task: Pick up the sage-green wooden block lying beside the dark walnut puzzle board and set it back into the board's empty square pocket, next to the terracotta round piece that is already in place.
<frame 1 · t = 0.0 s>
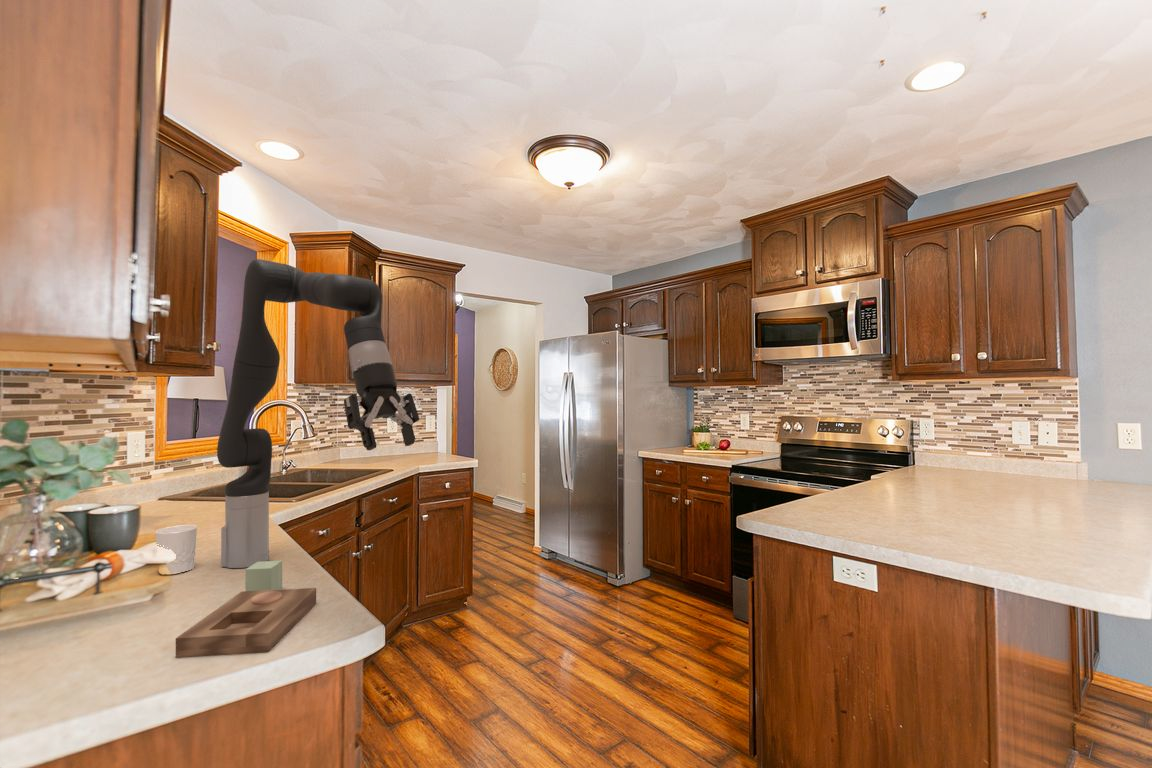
hand: (391, 446, 100), 31 cm above the countertop, tool tilted 20°, fingers open, 8 cm apart
green block: (264, 593, 111), on the countertop
puzzle board: (253, 627, 94), on the countertop
white cup: (176, 571, 125), on the countertop
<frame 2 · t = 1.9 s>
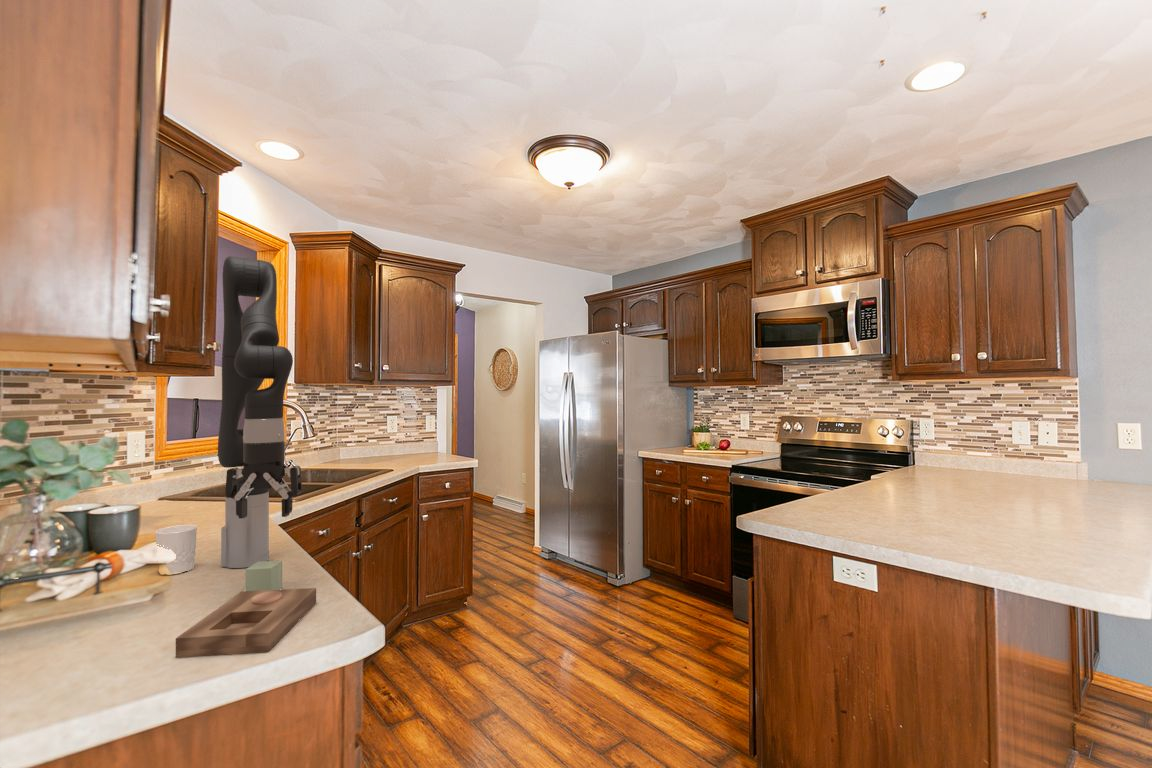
hand: (264, 516, 111), 16 cm above the countertop, tool pointing down, fingers open, 8 cm apart
nothing on the countertop moved.
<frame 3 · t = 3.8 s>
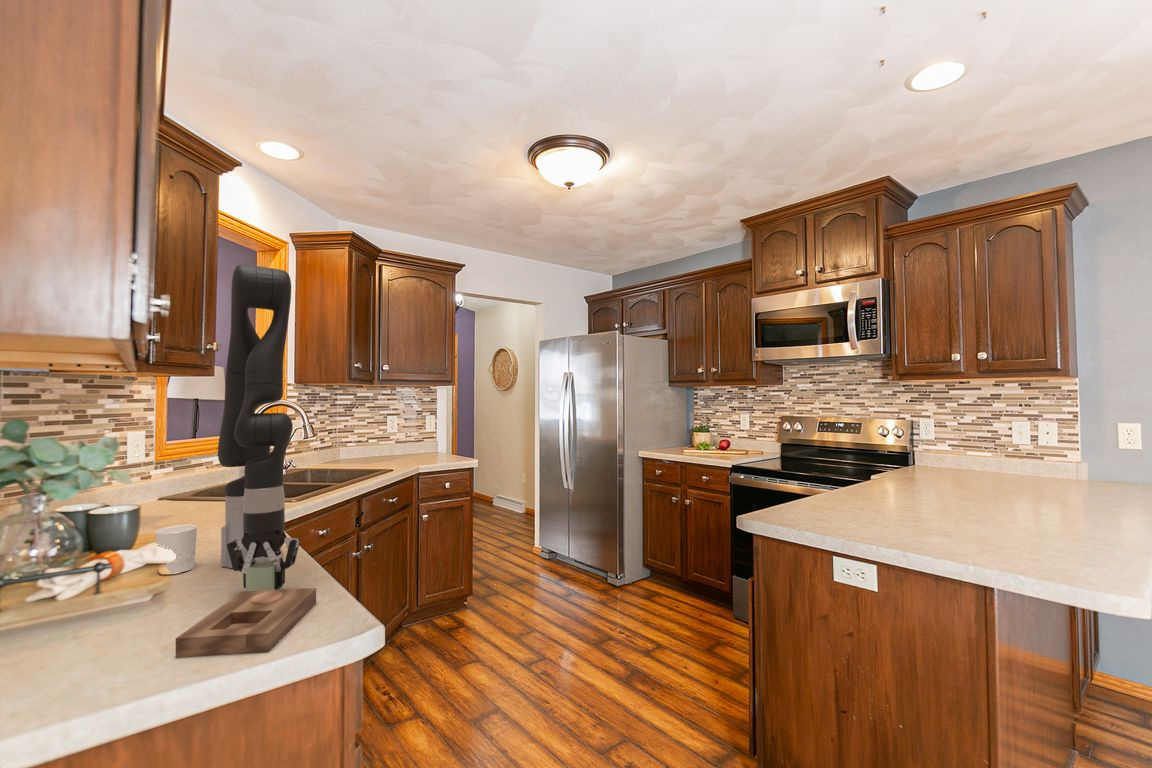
hand: (264, 588, 111), 1 cm above the countertop, tool pointing down, fingers closed on green block, 5 cm apart
green block: (264, 593, 111), on the countertop, touching gripper
everything else where it was.
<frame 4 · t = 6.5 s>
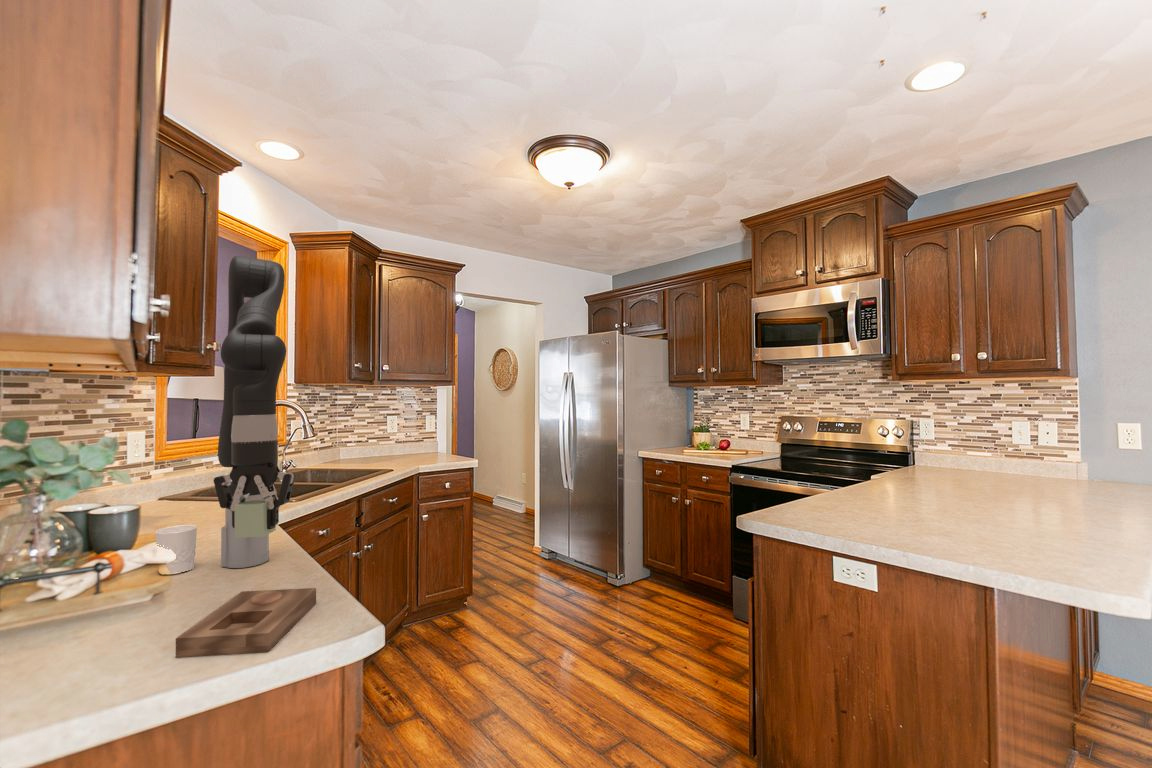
hand: (255, 528, 99), 16 cm above the countertop, tool pointing down, fingers closed on green block, 5 cm apart
green block: (255, 534, 99), point 15 cm above the countertop, touching gripper
everything else where it was.
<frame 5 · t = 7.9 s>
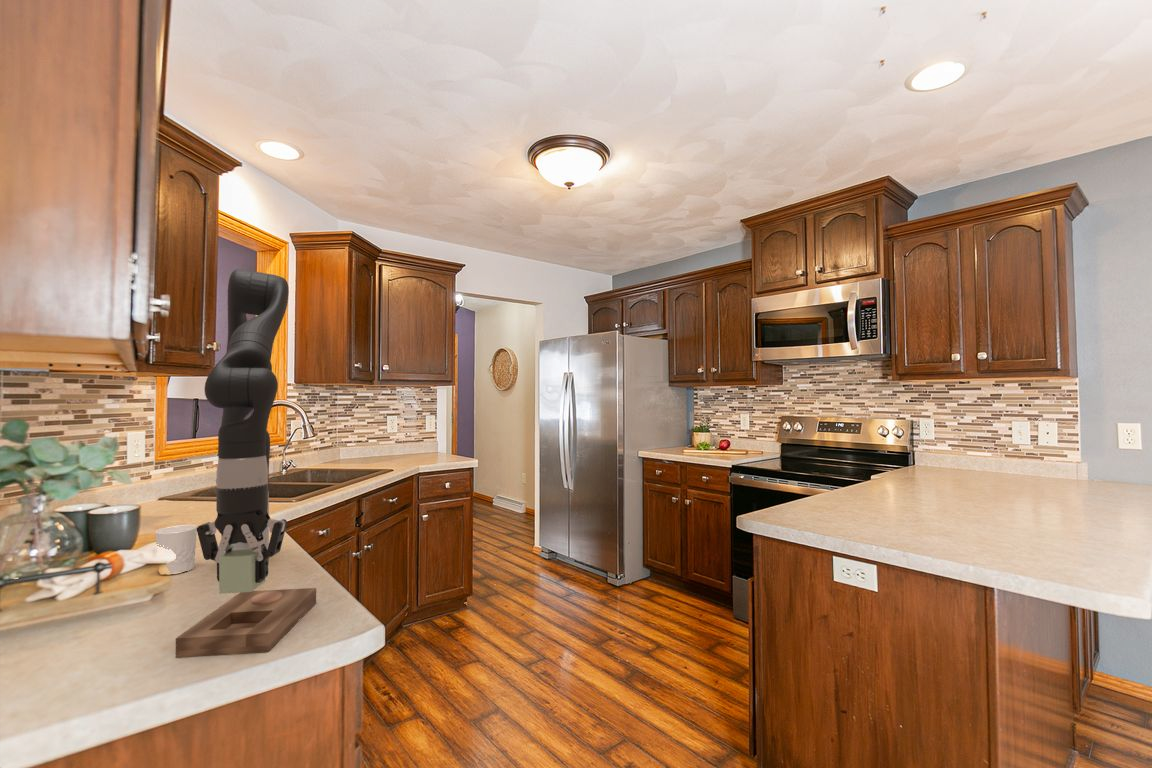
hand: (242, 581, 90), 9 cm above the countertop, tool pointing down, fingers closed on green block, 5 cm apart
green block: (243, 587, 90), point 9 cm above the countertop, touching gripper
everything else where it was.
when the fingers open (3 cm above the countertop, at t = 9.3 s): green block drops 1 cm, resting on puzzle board.
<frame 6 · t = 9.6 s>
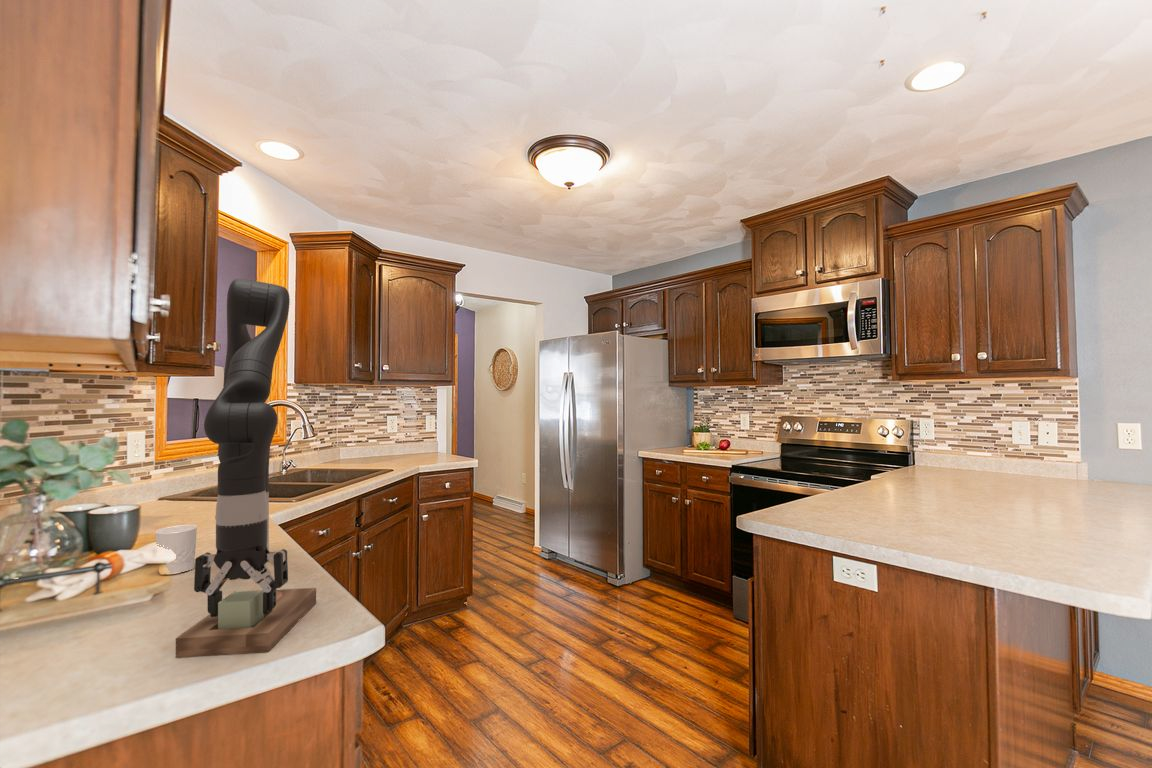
hand: (242, 613, 90), 4 cm above the countertop, tool pointing down, fingers open, 8 cm apart
green block: (241, 631, 90), point 1 cm above the countertop, touching puzzle board
everything else where it was.
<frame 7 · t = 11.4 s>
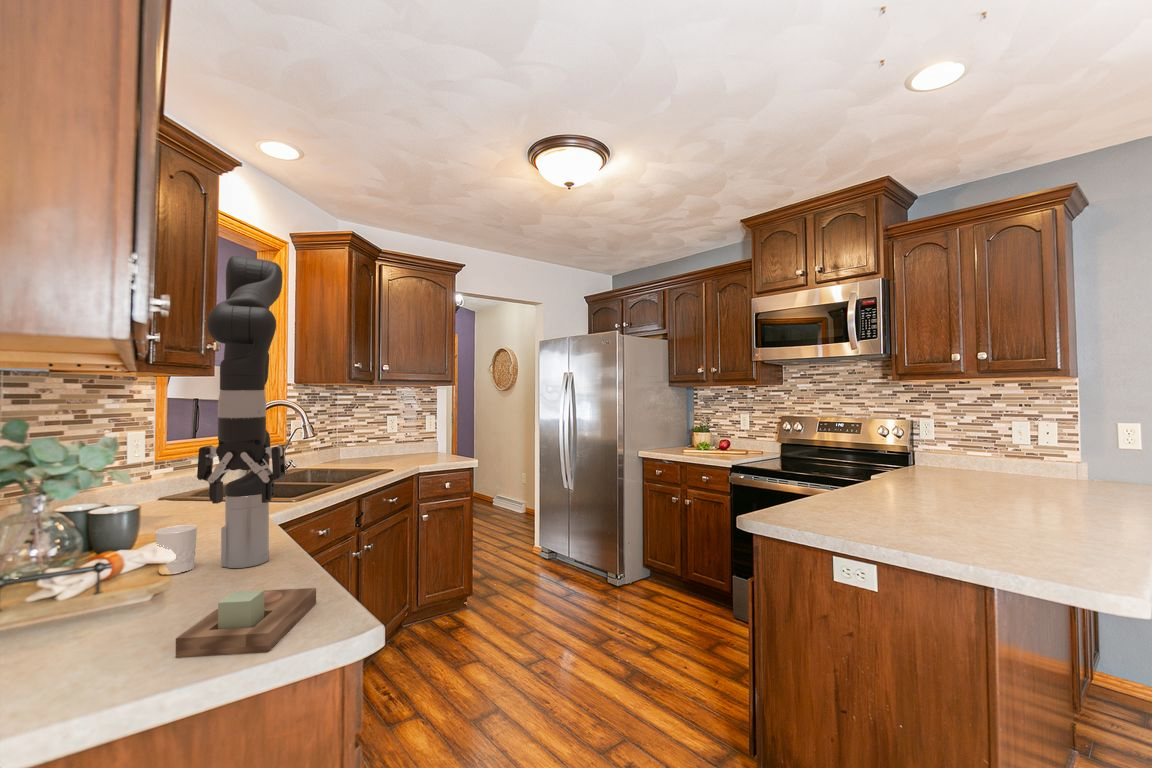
hand: (242, 502, 97), 22 cm above the countertop, tool pointing down, fingers open, 8 cm apart
nothing on the countertop moved.
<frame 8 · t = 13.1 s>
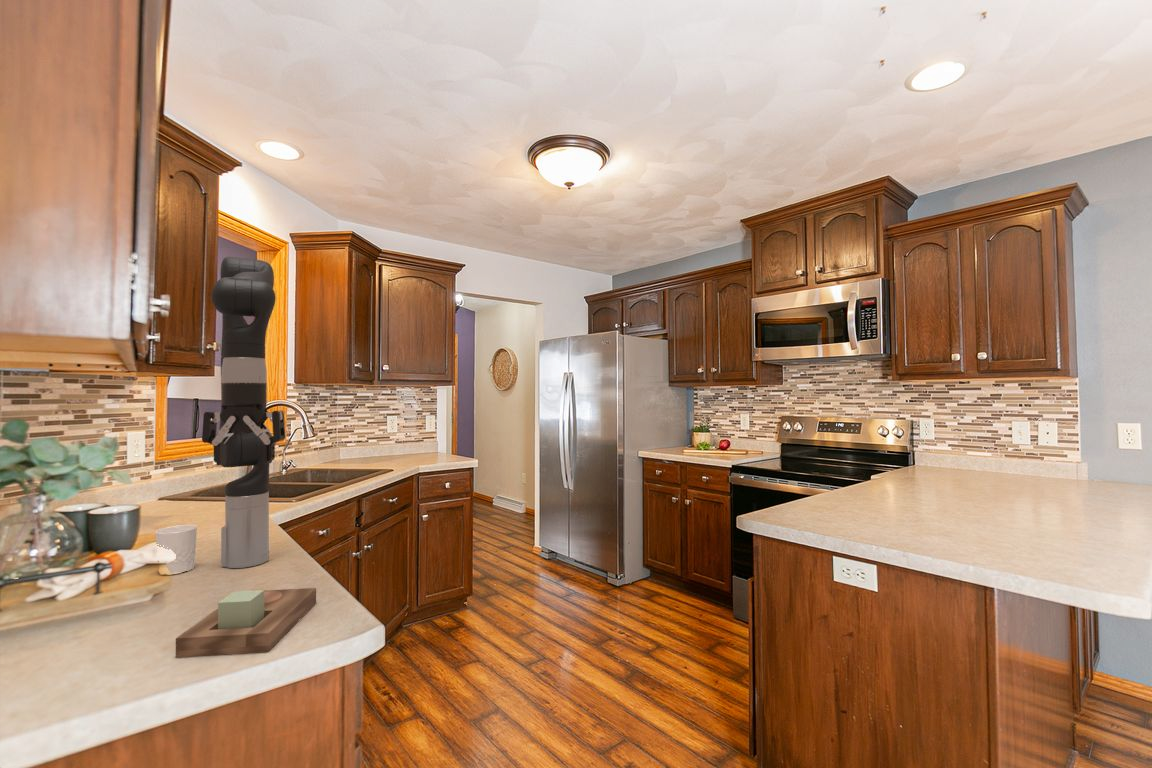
hand: (244, 464, 103), 28 cm above the countertop, tool pointing down, fingers open, 8 cm apart
nothing on the countertop moved.
at the end: green block 0.1 cm from the target spot on the puzzle board, point 1.0 cm above the puzzle board's base; green block tilted 0°; the gripper is holding nothing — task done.
